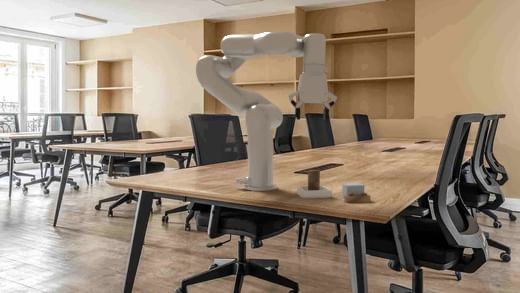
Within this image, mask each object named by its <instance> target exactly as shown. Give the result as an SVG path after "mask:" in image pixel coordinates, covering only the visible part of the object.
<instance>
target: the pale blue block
mask: <svg viewBox="0 0 520 293" xmlns="http://www.w3.org/2000/svg"><path fill="white" fill-rule="evenodd" d="M341 187H342V191H341V196H342V197H341V198H342V199H343V200H344V195H348V193H353V194H354V195H361V193H365V184H362V183H361V182H359V183H358V182H357V183H356V182H355V183H354V182H352V183H351V182H350V183H342V186H341Z"/></svg>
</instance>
